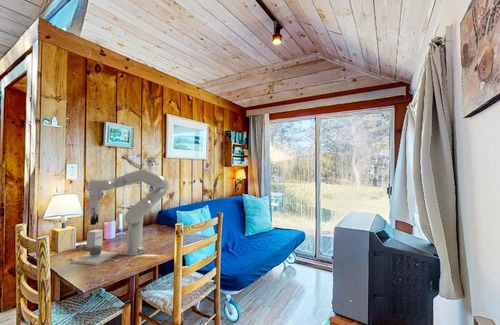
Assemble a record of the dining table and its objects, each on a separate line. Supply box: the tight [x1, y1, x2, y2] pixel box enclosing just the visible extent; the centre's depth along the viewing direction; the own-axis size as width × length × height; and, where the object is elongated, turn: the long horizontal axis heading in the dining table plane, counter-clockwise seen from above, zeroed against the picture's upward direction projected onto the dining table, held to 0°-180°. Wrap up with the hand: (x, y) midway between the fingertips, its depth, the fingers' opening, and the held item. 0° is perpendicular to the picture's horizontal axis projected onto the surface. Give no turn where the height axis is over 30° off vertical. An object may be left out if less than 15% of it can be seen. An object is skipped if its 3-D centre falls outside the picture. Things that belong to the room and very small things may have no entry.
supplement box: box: [86, 229, 104, 247], centre depth 178 cm, size 7×7×13 cm
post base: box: [70, 250, 118, 266], centre depth 155 cm, size 19×19×3 cm
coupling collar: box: [78, 245, 102, 255], centre depth 157 cm, size 15×6×4 cm, turn 81°
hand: (94, 223), depth 163 cm, fingers open, 5 cm apart
